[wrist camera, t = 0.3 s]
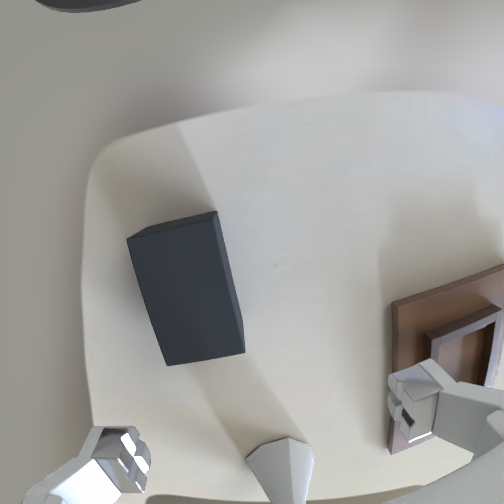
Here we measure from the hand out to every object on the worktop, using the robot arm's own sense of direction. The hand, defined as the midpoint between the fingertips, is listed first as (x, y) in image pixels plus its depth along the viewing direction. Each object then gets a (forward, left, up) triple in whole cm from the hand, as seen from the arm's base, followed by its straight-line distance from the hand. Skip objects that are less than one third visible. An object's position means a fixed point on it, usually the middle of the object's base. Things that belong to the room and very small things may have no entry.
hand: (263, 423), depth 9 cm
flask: (+21, -1, -16) cm, 27 cm away
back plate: (+15, +19, -16) cm, 30 cm away
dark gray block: (-1, -4, -16) cm, 17 cm away
